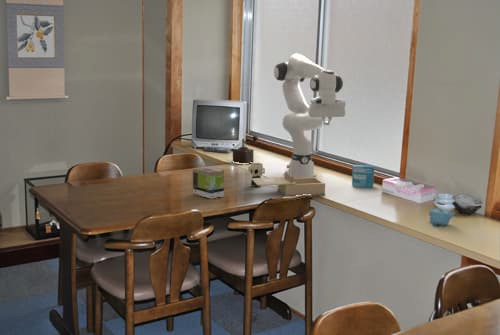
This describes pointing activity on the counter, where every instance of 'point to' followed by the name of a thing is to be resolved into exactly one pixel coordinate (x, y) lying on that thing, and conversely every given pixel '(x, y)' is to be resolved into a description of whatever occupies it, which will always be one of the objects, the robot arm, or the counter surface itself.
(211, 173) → the tea box
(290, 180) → the lid
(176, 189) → the counter surface
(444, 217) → the teapot
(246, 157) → the pepper mill
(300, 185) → the tray
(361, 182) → the data package
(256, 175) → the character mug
